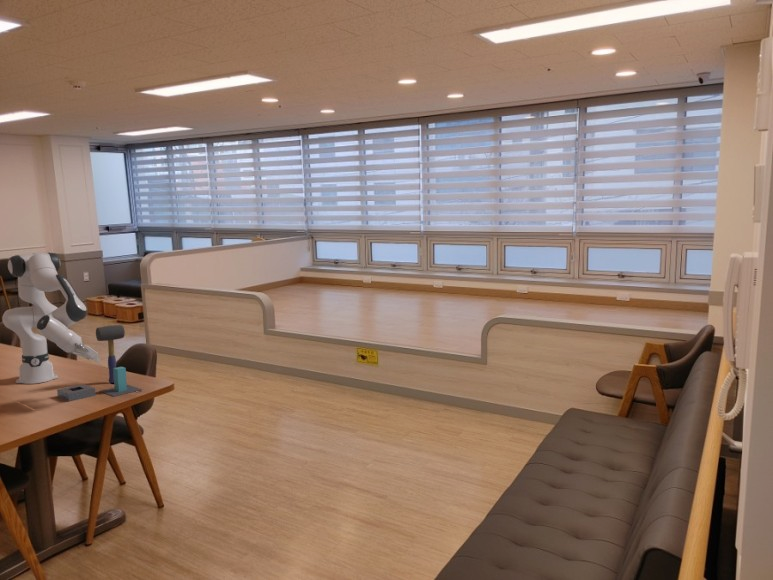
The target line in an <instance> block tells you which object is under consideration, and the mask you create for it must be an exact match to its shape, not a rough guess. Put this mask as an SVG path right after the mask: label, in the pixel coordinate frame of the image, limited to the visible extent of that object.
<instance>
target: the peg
mask: <svg viewBox="0 0 773 580" xmlns="http://www.w3.org/2000/svg"><path fill="white" fill-rule="evenodd" d="M126 369H127V368H126V367H124V366H118V367H117V366H116V368H113V370H114V387H115V391H118V392H120V391H124V390H127V385H128V383H127V370H126ZM114 387H113V388H114Z"/></svg>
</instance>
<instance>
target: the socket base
mask: <svg viewBox="0 0 773 580" xmlns="http://www.w3.org/2000/svg"><path fill="white" fill-rule="evenodd" d="M56 391H57V393H56V395H57V398H58V399H59V398H60V399H61V400H64V401H66V402H73V401H78V400H83V399H87V398H90V397H95V396H96V388H95V387H94V386H90V385H87V384H85V383H81V384H76V385H71V386H68V387H61V388H58V389H57V390H56Z"/></svg>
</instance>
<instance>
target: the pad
mask: <svg viewBox="0 0 773 580" xmlns="http://www.w3.org/2000/svg"><path fill="white" fill-rule="evenodd" d="M141 390H142V391H143V389H142V388H139V387H136V386H133V385H131V384H127V390H124V391H120V392H118V391H115V387H111V388H107V389H106V388H105V389H101V390H99V392H100V393H102V394H105V395H108V396H110V397H113V398H115V397H119V396H124V395H128V394H132V393H135V392H136V391H140V392H142V391H141ZM136 393H137V392H136Z"/></svg>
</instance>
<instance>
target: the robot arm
mask: <svg viewBox="0 0 773 580" xmlns="http://www.w3.org/2000/svg"><path fill="white" fill-rule="evenodd" d="M7 268H8V271H9V273H10V275H12V276H13V277H16V278H17V282H18V283H17V288H18V289H17V290H18V297H19V298H20V299H21V301H23V302H27V303H29V304H32V306H21V307H13V308H10V309H7V310H5V311H4V313H3V315H2V316H1V317H2V318H1V319H2V323H3V324H2V325H4V326H5V328H6V329H9V330H10V331H13V332H14V333H15V334H16V335H17V337H18V339H19V341H20V344H21V350H22V355H21V362H22V363H21V364H20V365H19V366H18V370H19V371H18V372H19V377H18V378H17V379H16V380H15V384H26V385H30V384H32V385H34V384H41V383H45V382H48V381H49V382H50V381H52V380H56V379H58V378H59V376H58V375H57V374H56V373H55V371H54V366H53V362H51V361H50V360H49V359H50V354H49V352H48V343H47V339H48V341H50V342H52V343H54V344H56V346H57V347H58V348H60V349H61V350H63V352H66V353H67V354H68V353H71V354H73V355H76V356H79V357H82V358H85V359H86V360H87V361H88V360H93V361H94V362H95V363H98V364H99V363H100V362H101V358H99V357H98V355H99V353H98V352H97V351H96V350H94V349H93V348H92V347H90V346H89V345H87V344H84V343H83V341H82V340H83V339H82V336H80V335H79V334H78V333H76V332H75V331H73V330H72V329H69V327H71V326H73V325H74V324H76V323H78V322H80V321H81V320H83V319H84V320H85V318H86V317H87V313H88V308H87V305H85V303H84V302H83V301H82V300H81V299H80V297H79V295H78V293H77V292H76V290H75V289H74V287H73V285H72V284H71V282H70V280H68V279H67V278H68V277H66V276H64V275H63V274H60V273H58V272H59V271H60V269H61V260H60V257H59V256H58V254H57V253H54V252H47V253H46V252H33V253H25V254H21V255H19V254H15V255H13V256H12V255H11V257H9V258H8V261H7ZM55 291H60V292H61V293H62V296H63V297H64V299H65V302H64V304H62V305H60V306H59V307H57V306H56V305H54V304H53V303H51V302H50V301H49V300H48V299H47V297H46V293H45V292H47V293H48V292H49V293H51V292H55ZM34 328H36V329H37V330H38V332H39V333H37V332H34V331H33V330H32V329H34Z"/></svg>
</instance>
